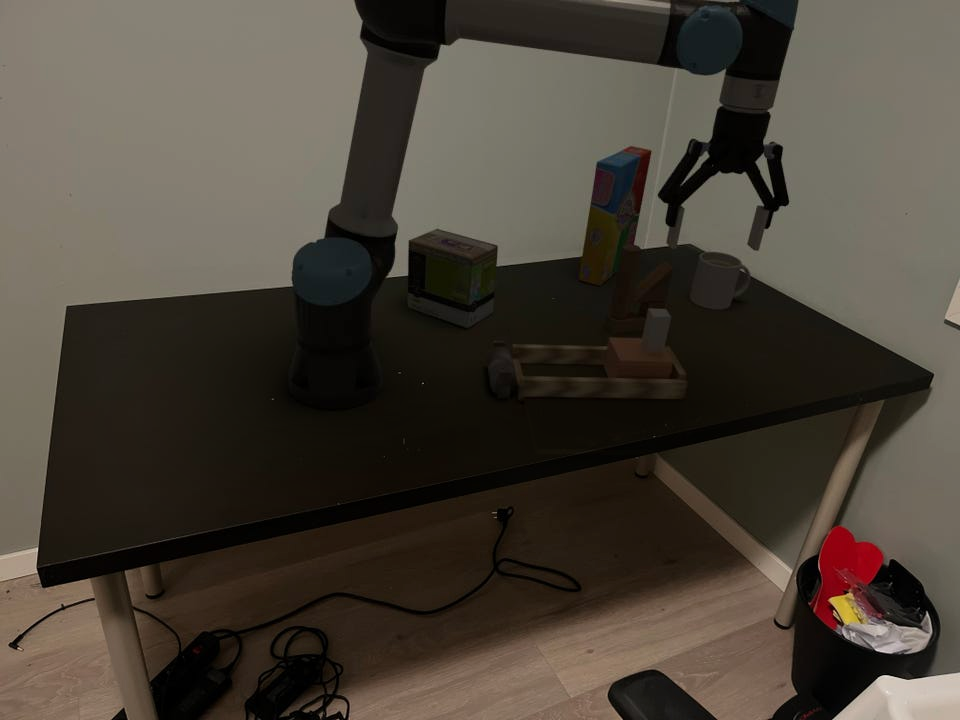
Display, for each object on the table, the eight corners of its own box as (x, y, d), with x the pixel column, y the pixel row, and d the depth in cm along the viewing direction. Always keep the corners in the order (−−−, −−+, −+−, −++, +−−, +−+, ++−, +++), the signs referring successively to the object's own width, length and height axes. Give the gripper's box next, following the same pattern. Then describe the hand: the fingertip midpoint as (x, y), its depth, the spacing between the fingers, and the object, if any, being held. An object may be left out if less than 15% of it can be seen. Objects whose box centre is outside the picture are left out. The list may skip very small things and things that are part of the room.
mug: (684, 302, 156) (694, 259, 151) (697, 288, 163) (707, 247, 158) (733, 316, 151) (745, 273, 146) (744, 301, 159) (756, 259, 154)
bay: (490, 400, 117) (492, 374, 114) (484, 363, 127) (486, 338, 125) (682, 403, 120) (689, 378, 117) (661, 366, 130) (667, 343, 128)
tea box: (494, 312, 145) (500, 244, 138) (467, 330, 138) (471, 259, 130) (434, 292, 152) (437, 226, 144) (405, 308, 144) (406, 239, 137)
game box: (599, 287, 160) (619, 166, 146) (577, 281, 162) (595, 161, 149) (631, 260, 176) (652, 149, 162) (610, 254, 178) (629, 144, 165)
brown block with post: (614, 392, 120) (628, 323, 113) (603, 365, 127) (615, 300, 121) (666, 393, 121) (682, 325, 114) (651, 367, 128) (666, 301, 122)
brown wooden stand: (659, 333, 142) (678, 248, 133) (610, 337, 139) (626, 251, 130) (650, 325, 145) (668, 241, 136) (602, 328, 142) (617, 243, 133)
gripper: (670, 109, 98) (643, 254, 109) (839, 116, 101) (797, 257, 111) (653, 99, 104) (629, 236, 115) (812, 106, 107) (775, 240, 118)
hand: (712, 247), depth 113 cm, fingers open, 13 cm apart
